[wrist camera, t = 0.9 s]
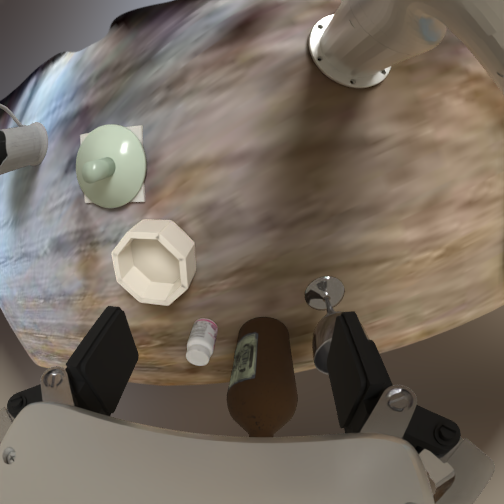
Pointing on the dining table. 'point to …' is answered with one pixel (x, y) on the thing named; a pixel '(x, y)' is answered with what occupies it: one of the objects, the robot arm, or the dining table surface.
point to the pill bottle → (201, 341)
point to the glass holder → (22, 145)
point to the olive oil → (262, 378)
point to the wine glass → (324, 298)
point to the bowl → (155, 261)
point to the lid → (111, 166)
